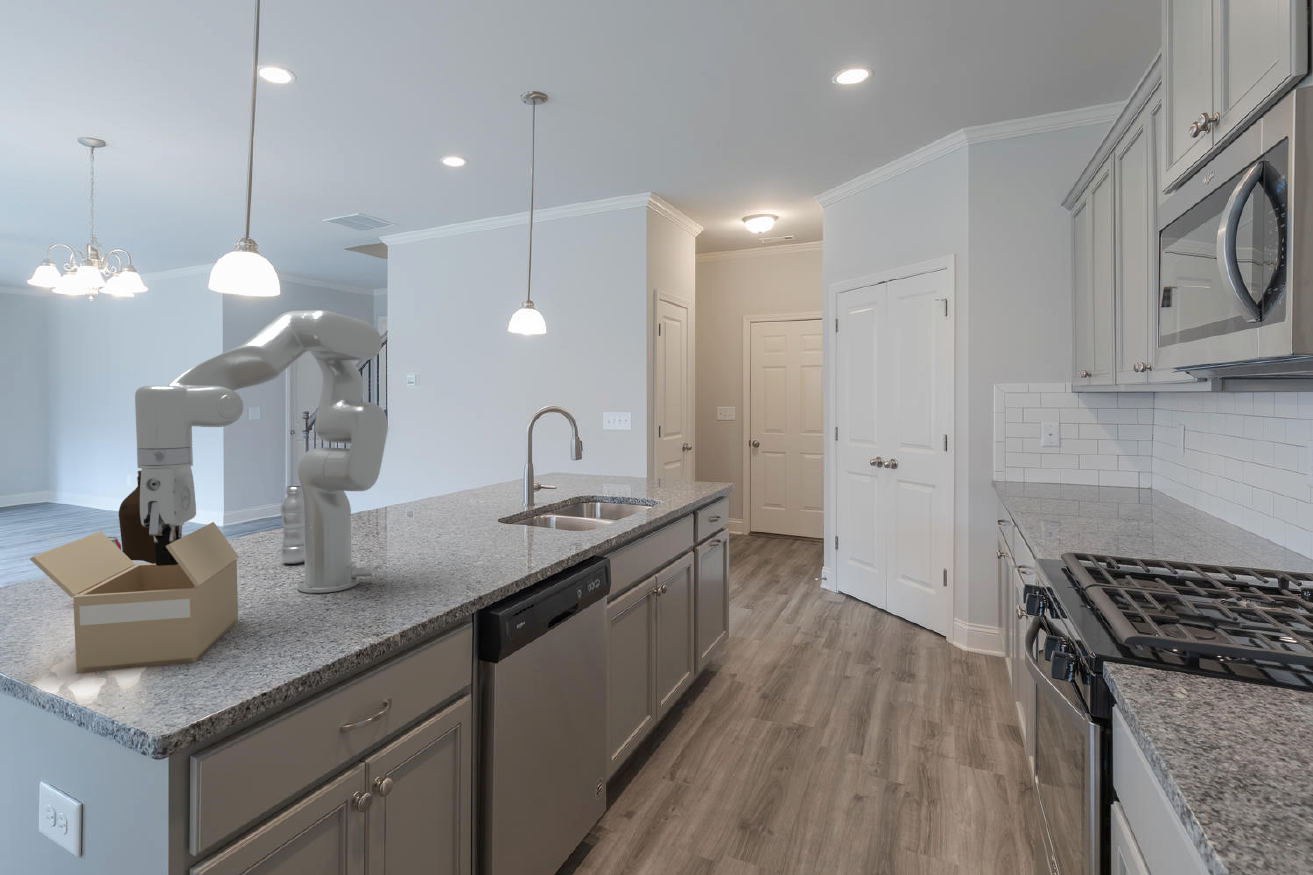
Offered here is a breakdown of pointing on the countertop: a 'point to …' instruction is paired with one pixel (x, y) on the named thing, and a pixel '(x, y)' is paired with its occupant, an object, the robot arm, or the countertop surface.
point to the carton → (152, 618)
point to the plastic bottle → (293, 526)
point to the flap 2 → (202, 553)
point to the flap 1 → (83, 563)
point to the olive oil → (135, 529)
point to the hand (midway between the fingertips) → (169, 563)
